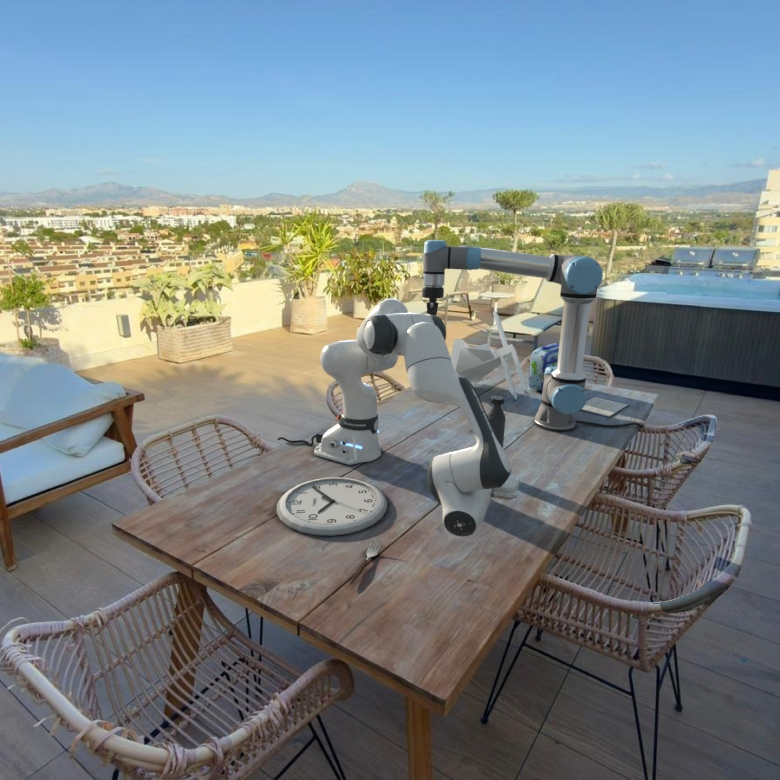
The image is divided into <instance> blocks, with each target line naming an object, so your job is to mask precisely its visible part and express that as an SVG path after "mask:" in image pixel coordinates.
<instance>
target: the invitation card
mask: <svg viewBox="0 0 780 780" xmlns="http://www.w3.org/2000/svg"><path fill="white" fill-rule="evenodd" d="M628 406H629V404H627V403H623V402H618V401H614V400H609V399H605V398H601V397H596V396H593V397H592V398H590V399H587V401H586V404H585V406H584V407H583V408H582V409H581V410H580V411H584V412H587V413H593V414H596V415H600V416H604V417H608V418H609V417H611V416H613V415H614V414H616V413H617V412H619V411H621V410H623V409H624V408H626V407H628Z"/></svg>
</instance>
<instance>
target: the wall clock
mask: <svg viewBox="0 0 780 780" xmlns="http://www.w3.org/2000/svg"><path fill="white" fill-rule="evenodd" d="M387 509H388V500H387V498H386V496H385V494H384V493H383V492H382V491H381V490H380V489H379V488H377V487H376V486H374V485H372V484H371V483H369V482H365V481H362V480H359V479H355V478H349V477H338V476H337V477H335V476H333V477H332V476H331V477H322V478H317V479H312V480H307V481H305V482H302V483H299V484H297V485H295V486H293V487H292V488H290V489H288V490H287V491H286V492H285V493H284V494H283V495H281V496H280V498H279V499H278V502H277V503H276V515H277V517H278V518H279V520H280V521H281V522H282V523H283V524H285V525H286V526H287V527H288V528H290V529H293V530H295V531H297V532H299V533H303V534H308V535H312V536H327V537H328V536H329V537H331V536H332V537H333V536H342V535H350V534H352V533H356V532H361V531H363V530H366V529H368V528H369V527H372V526H373V525H375V524H376V523H378V522H379V521H380V520H381V519H382V518H383V517H384V516H385V514H386V512H387Z"/></svg>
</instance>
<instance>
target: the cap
mask: <svg viewBox="0 0 780 780" xmlns="http://www.w3.org/2000/svg"><path fill="white" fill-rule="evenodd" d="M490 404H492V405H493V404H495V405H501V406H502V405H504V404H505V397H504V396H501V395H492V396H491V398H490Z"/></svg>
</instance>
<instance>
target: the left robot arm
mask: <svg viewBox="0 0 780 780" xmlns="http://www.w3.org/2000/svg"><path fill="white" fill-rule="evenodd" d="M446 340H447V328H446V325H445V322H444V321H443V319H442V318H441V317H439V316H437V315H436V316H435V315H432V314H427V312H426V313H422V312H421V313H417V312H409V311H408V308H407V306H406V305H405V303H403V302H402V301H401V300H398V299H396V298H386V299H383V300H382V301H381V302H379V303H377V304H376V305H375V306H374V307H373V308H372V309H371V310H370V311H369V312H368V314H367V315H366V317H365V318H364V319H363V321H362V323H361V324H360V325H359V326H358V327H357V330H356V336H355V339H348V340H347V339H346V340H337V341H335V342H331V343H329V344H325V345H324V346H323V348H322V350H321V352H320V357H319V362H320V366H321V368H322V370H323V372H325V373H326V374H327V375H328V376H330V378H333V380H335V381H336V383H337V385H338V386H339V389H340V391H341V396H342V397H341V398H342V410H341V412H340V413H339V414H338V415H337V416H336V417H335V421H337V423H336V424H334V425H333V426H331V427H330V428H329V429H324V428H323V429H321V430H319V431H317V432H316V433H315V434H314V435H313V436H312V437H311V438H310V439H311V443H310V442H308V441H307V440H304V439H297V440H290V439H288V438H286V437H283V436H279V437H278V438H277V441H280V440H283V441H285V442H287V443H291V444H295V443H296V444H297V443H304V444H306V445H308V446H311V447H312V446H314V443H318V444H317V445H316V446H315V448H314V451H313V454H314V456H316V457H320V458H324V459H327V460H331V461H334V462H338V463H340V464H341V463H342V464H344V465H349V466H351V465H356V464H361V463H368V462H372V461H375V460H378V458H380V457H381V456H382V450H381V448H380V442H379V441H380V440H379V435H378V434H379V433H380V430H379V413H378V393H377V390H376V389H375V388H374V387H373V386H372V385H370V384H369V383H366V382H363V381H362V375H364V374H372V373H381V372H384V371H387V370H390V369H392V368H394V367H395V366H396V364H397V363H398V360H399V357H401V356H402V357H403V358H404V366H405V370H406V375H407V381H408V383H409V386H410V390H411V391H412V392H413V394H414V395H415V396H416V397H417V398H419V399H420V400H423V401H426V402H428V403H433V404H441V405H442V404H443V405H452V406H453V405H454V406H457V407H459V408H460V409H461V410H462V411H463V413H464V415H465V417H466V420H467V422H468V424H469V426H470V429H471V432H472V433H473V436H474V439H475V441H476V442H475V445H473V446H469V447H465V448H461V449H457V450H453V451H449V452H445V453H441V454H438V455H435V456H433V457H432V459H431V461H430V462H429V464H428V467H427V470H426V471H427V472H426V483H427V486H428V489H429V492H430V494H431V495H432V497H433V498H434V499H435V501H436V502H437V503H438V504H439V505H440V507H441V511H442V524H443V526H444V528H445V530H446V531H447V532H449V533H450V534H451V535H454V536H456V537H469V536H472V535H474V534H475V533H476V532H478V530H479V529H480V528H481V526H482V524H483V522H484V519H485V517H486V514H487V509H488V508H489V506H490V503H491V500H492V499H498V500H504V501H511V500H514V499H517V498H518V496H519V494H520V493H519V490H520V480H521V479H520V478H519V476H517V475H511V473H512V467H511V461H510V458H509V456H508V454H507V453H506V451H505V449H504V446H503V447H502V446H501V444H500V442H499V440H498V438H497V436H496V434H495V431H494V429H493V427H492V425H491V423H490V420H489V418H488V416H487V414H488V413H487V411H486V409H485V407H484V404H483V402H482V401H481V399H480V396H479V395H478V392H477V390H476V388H475V387H474V385H473V383H472V382H470V381H469V380H468V379H467V378H466V377H462V376H459V375H458V374H457V372H456V371H455V369H454V367H453V365H452V362H451V358H450V357H451V353H450V351H449V348H448V345H447V343H446ZM314 439H315V442H314Z"/></svg>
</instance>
